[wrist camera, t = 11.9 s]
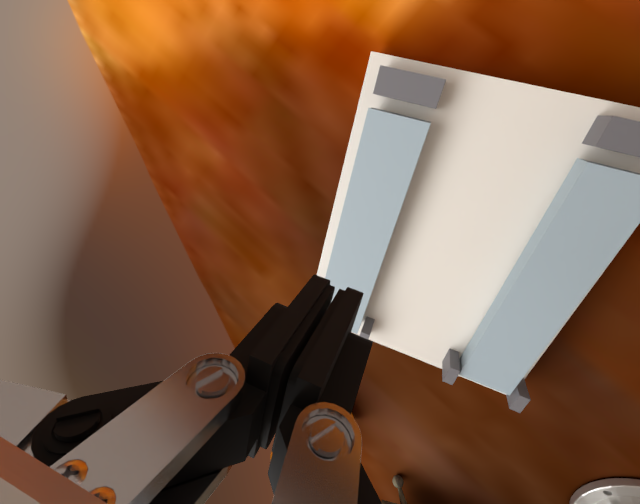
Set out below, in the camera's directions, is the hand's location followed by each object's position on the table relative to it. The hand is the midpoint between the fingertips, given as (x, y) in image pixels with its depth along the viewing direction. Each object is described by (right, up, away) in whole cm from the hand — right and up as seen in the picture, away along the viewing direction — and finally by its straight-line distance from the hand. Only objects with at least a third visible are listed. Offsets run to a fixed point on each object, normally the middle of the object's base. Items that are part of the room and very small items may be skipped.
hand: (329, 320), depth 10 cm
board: (+13, +4, +22) cm, 26 cm away
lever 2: (+19, -1, +18) cm, 26 cm away
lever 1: (+4, +4, +21) cm, 22 cm away
